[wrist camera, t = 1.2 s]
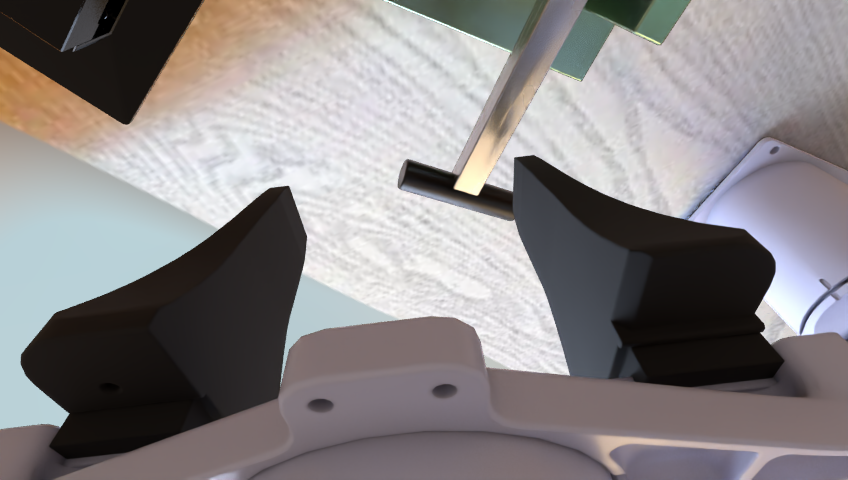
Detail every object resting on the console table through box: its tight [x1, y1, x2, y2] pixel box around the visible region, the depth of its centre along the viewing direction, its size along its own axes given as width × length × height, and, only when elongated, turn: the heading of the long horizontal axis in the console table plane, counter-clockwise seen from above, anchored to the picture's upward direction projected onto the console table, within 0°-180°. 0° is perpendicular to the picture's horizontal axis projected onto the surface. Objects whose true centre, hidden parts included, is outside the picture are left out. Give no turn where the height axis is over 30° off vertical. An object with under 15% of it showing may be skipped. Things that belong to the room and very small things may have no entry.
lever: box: [398, 0, 588, 221], centre depth 14 cm, size 12×5×2 cm, turn 159°
